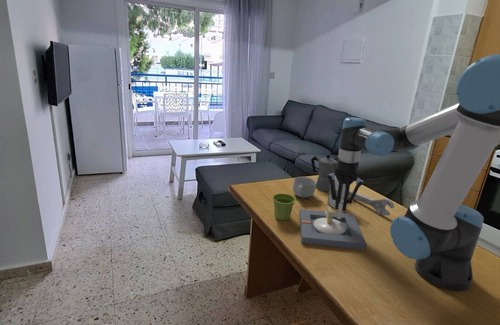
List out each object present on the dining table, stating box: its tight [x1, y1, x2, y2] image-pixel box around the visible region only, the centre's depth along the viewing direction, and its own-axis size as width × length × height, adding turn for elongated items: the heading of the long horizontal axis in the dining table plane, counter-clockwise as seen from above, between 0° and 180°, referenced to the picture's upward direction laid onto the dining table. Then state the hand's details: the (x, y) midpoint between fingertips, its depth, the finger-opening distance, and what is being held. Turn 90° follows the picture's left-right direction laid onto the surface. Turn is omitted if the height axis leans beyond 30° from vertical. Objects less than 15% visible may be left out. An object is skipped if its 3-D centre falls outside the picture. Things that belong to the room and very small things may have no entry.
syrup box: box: [327, 176, 346, 210], centre depth 135 cm, size 6×6×14 cm
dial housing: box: [298, 208, 367, 251], centre depth 116 cm, size 22×22×3 cm
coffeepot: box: [310, 154, 338, 192], centre depth 155 cm, size 15×9×18 cm, turn 55°
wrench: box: [348, 189, 395, 216], centre depth 138 cm, size 8×2×30 cm
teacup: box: [292, 176, 317, 199], centre depth 144 cm, size 14×11×8 cm
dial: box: [314, 205, 346, 235], centre depth 115 cm, size 12×12×6 cm
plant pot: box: [272, 192, 297, 221], centre depth 123 cm, size 9×9×9 cm
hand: (339, 217), depth 118 cm, fingers closed
